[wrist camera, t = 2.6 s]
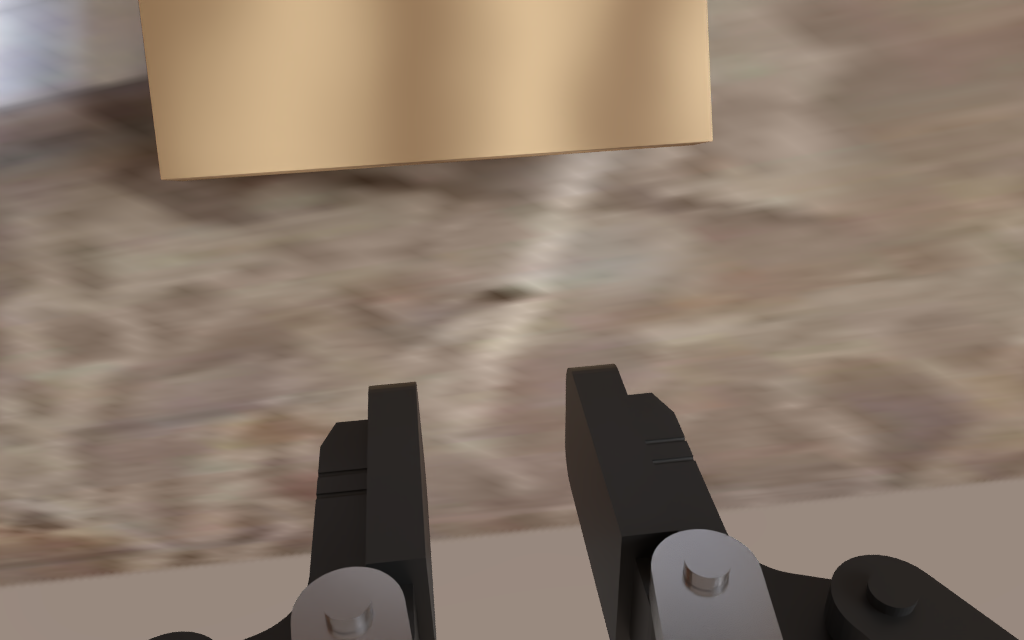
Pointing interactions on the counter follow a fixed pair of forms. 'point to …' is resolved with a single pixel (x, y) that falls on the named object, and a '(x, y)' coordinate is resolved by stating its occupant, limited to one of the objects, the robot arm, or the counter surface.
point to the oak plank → (418, 81)
